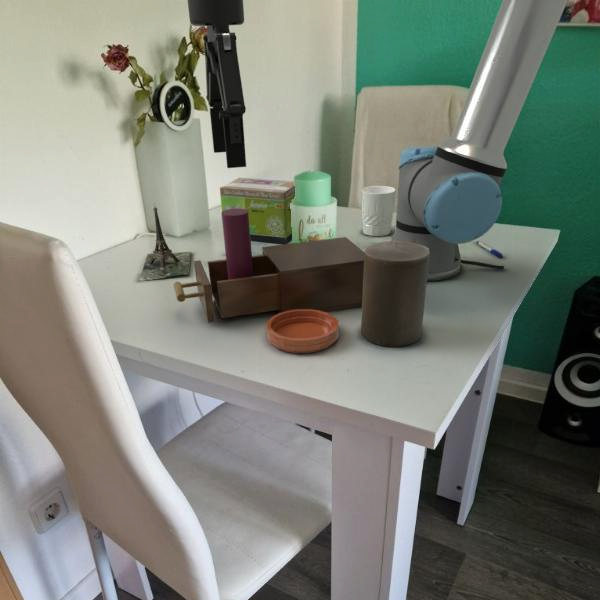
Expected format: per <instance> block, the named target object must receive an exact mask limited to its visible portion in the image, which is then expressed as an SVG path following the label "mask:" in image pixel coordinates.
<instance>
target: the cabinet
mask: <svg viewBox="0 0 600 600" xmlns="http://www.w3.org/2000/svg"><path fill="white" fill-rule="evenodd" d="M264 254H265V255H266V256H267V258H268V259H269V260H270V262H271V263H272V265H273V266H274V267H275V269H276V270H277V271H278V273H279V275H280V294H281V310H277V312H278V314H279V313H282V312H285V311H289V310H295V309H313V310H320V311H323V312H332V311H340V310H346V309H352V308H353V309H354V308H359V307H362V296H363V273H364V251H363V250H362V249H361V248H360V247H359V246H357V244H355V243H354V242H353V241H352V240H350V239H349V238H348V237H346V236H343V237H335V238H327V239H319V240H310V241H309V240H308V241H302V242H301V243H292V244H284V245H276V246H267V247H262V255H264Z"/></svg>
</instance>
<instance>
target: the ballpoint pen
mask: <svg viewBox="0 0 600 600" xmlns="http://www.w3.org/2000/svg"><path fill="white" fill-rule="evenodd" d="M476 243H477V245H478V246H481V247H482V248H484V250H487V251H489V252H490V253H491V254H492V255H494V256H496V257H497V258H500V259H502V258H503V254H502V253H501V252H500V251H499V250H496V249H495V248H494V249H493V248H491V247H489V246H488V245H487V244H484V243H483V242H482V241H479V240H478V241H476Z"/></svg>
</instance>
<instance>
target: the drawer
mask: <svg viewBox="0 0 600 600" xmlns="http://www.w3.org/2000/svg"><path fill="white" fill-rule="evenodd" d="M252 264H253V277H245V278H238V279H230V280H228V272H227V262H226V258H225V259H217V260H216V259H215V260H208V261H207V267H208V275H207V272H206V270H205V267H204V266H203V263H202V260H200V259H199V260H194V261H193V266H194V274H195V280H196V281H191V282H186V283H185V282H184V283H181V282H180V281H175V282H174V283H173V289H174V292H175V293H174V294H175V296H176V300H177V302H180V303H183V302H184V301H186V299H195V298H199V301H200V305H201V307H202V310H203V312H204V315H205V319H206V320H207V323H208V324H211V323H216V316H215V310H214V309H215V308H214V304H215V305H216V308H217V311H218V313H219V315H220V318H221V319H224V318H232V317H239V316H244V315H245V316H246V315H252V314H259V313H265V312H272V311H273V312H274V311H278V310H281V294H280V275H279V273H278V271H277V270H276V269H275V267H274V266H273V265H272V263H271V262H270V260H269V259H268V258H267V256H266V255H265V254H264V255H256V256H252ZM208 276H209V277H208ZM193 287H197V288H196V289H197V292H191V293H185V291H184V288H193Z"/></svg>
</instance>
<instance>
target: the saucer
mask: <svg viewBox="0 0 600 600" xmlns="http://www.w3.org/2000/svg"><path fill="white" fill-rule="evenodd" d="M265 330H266V338H267V340H268V342H269V343H270V344H271V345H273V346H274V347H275V348H276V349H279V350H281V351H284V352H287V353H293V354H311V353H316V352H320V351H322V350H325V349H327V348H329V347H330V346H331V345H333V344H334V343H335V342H336V341H337V340H338V338H339V335H340V334H339V333H340V332H339V331H340V324H339V320H338V319H337V317H336V316H334V315H333V314H331V313H329V312H328V311H326V312H323V311H320V310H313V309H295V310H289V311H285V312H282V313H279V312H278V313H277V314H275V315H273V316H271V317H270V319H269V320H267V322H266V329H265Z"/></svg>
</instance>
